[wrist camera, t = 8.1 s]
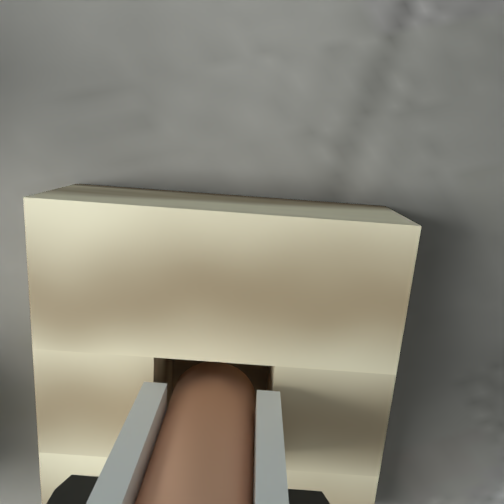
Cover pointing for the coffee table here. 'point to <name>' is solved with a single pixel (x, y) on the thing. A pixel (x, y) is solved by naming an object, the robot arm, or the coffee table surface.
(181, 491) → the pin
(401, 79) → the coffee table surface
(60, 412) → the bore block
